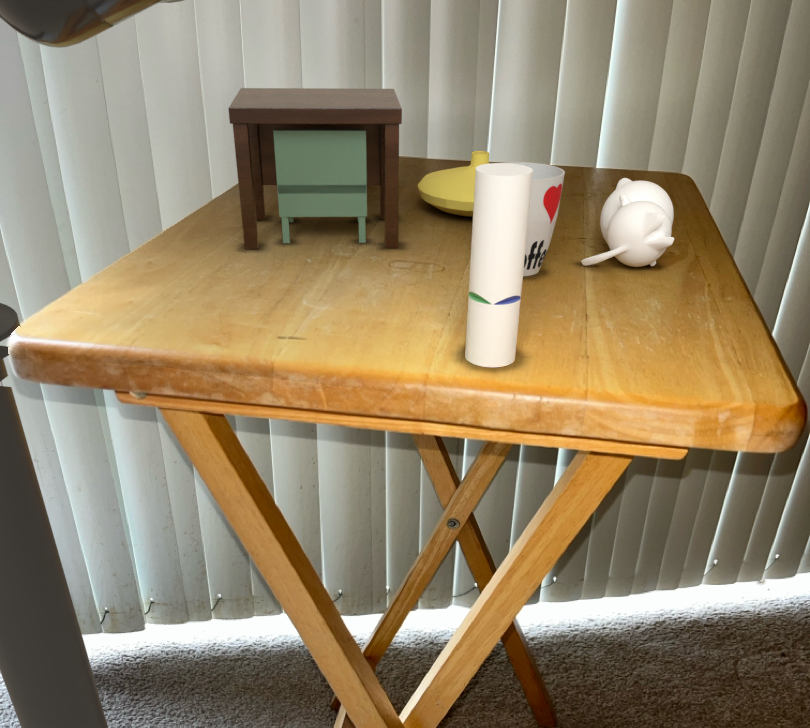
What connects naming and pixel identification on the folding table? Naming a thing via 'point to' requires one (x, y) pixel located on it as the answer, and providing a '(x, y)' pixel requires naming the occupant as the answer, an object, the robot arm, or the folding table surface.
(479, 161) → the vase
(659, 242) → the cat figurine
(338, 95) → the desk
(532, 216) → the cup
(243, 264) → the folding table surface
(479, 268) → the tube
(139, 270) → the folding table surface
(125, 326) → the folding table surface
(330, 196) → the chair
